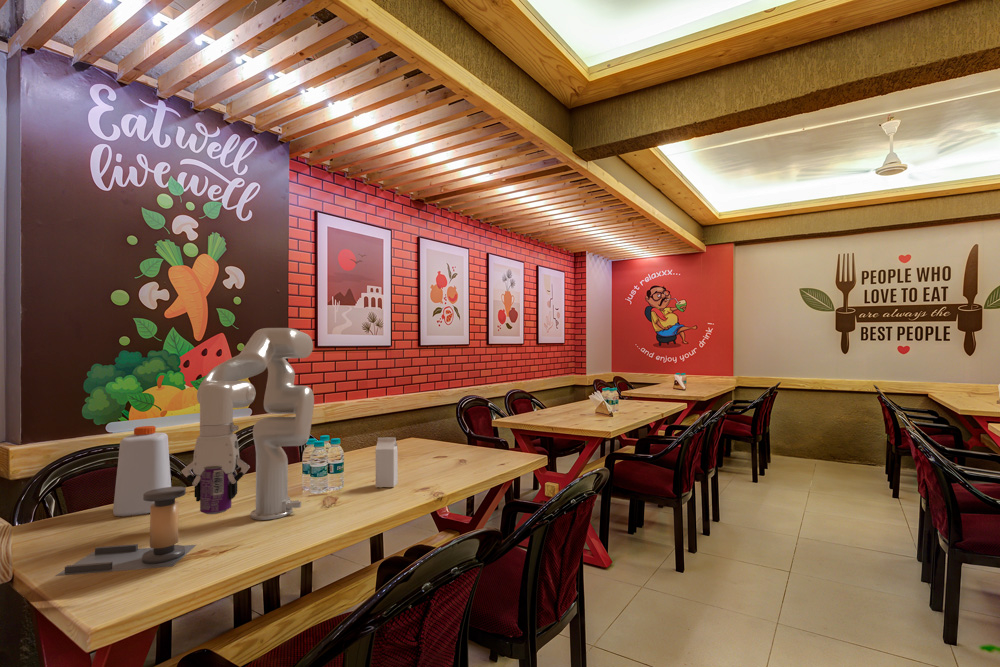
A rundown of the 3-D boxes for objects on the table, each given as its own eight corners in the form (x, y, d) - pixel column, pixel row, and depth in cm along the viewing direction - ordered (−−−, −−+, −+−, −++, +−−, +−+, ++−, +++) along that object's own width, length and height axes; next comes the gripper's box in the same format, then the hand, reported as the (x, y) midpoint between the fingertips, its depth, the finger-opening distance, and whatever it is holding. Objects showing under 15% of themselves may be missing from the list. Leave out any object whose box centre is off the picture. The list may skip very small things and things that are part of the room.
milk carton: (393, 488, 193) (393, 439, 193) (375, 488, 193) (375, 439, 194) (397, 483, 200) (397, 435, 201) (380, 483, 200) (380, 436, 201)
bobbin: (191, 548, 132) (191, 485, 132) (175, 562, 123) (176, 495, 123) (153, 551, 130) (154, 487, 131) (134, 565, 121) (135, 497, 122)
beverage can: (237, 507, 133) (237, 462, 133) (219, 516, 126) (220, 468, 126) (212, 506, 133) (212, 461, 134) (193, 515, 126) (193, 468, 127)
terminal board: (197, 549, 134) (197, 538, 134) (172, 571, 120) (172, 560, 120) (92, 556, 130) (92, 546, 130) (54, 580, 116) (55, 569, 116)
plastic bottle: (109, 519, 160) (110, 431, 161) (123, 506, 173) (124, 425, 175) (164, 512, 166) (166, 428, 167) (174, 500, 179) (175, 422, 181)
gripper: (256, 427, 135) (256, 492, 135) (186, 429, 132) (185, 496, 132) (247, 431, 128) (247, 501, 127) (173, 434, 125) (172, 505, 124)
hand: (216, 498), depth 130 cm, fingers closed on beverage can, 7 cm apart
